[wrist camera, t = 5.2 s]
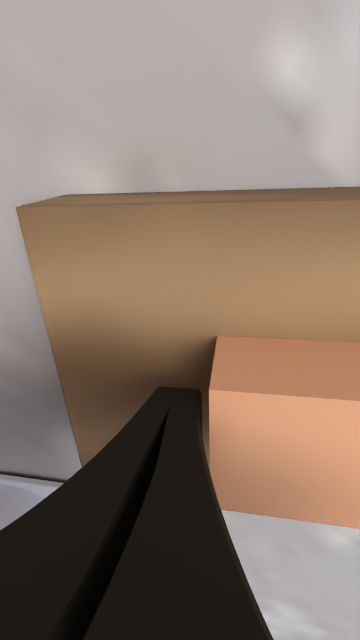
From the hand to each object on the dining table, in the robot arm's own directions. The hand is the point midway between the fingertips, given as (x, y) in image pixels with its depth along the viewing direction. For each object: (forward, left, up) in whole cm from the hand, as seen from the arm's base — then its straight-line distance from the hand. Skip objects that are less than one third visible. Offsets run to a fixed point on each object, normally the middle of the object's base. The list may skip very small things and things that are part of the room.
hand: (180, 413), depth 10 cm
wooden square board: (0, -1, -4) cm, 4 cm away
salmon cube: (0, -3, -1) cm, 3 cm away
